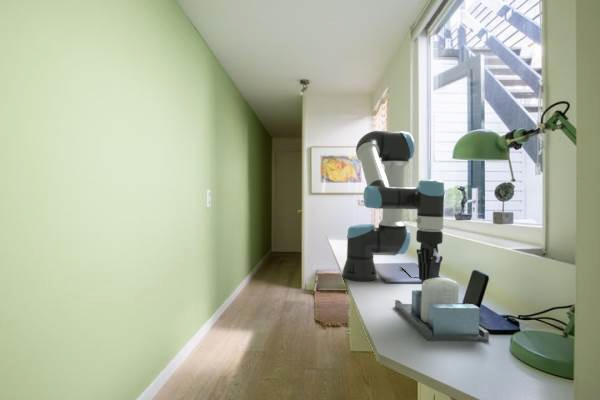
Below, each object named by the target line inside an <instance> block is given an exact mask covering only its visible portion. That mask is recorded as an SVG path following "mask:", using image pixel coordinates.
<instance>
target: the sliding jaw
mask: <svg viewBox="0 0 600 400" xmlns="http://www.w3.org/2000/svg"><path fill="white" fill-rule="evenodd" d="M421 295H422V289H419V290H416V289H415V290H413V289H412V290H411V304H412V308H411V312H412V313H413V314H414V315H415V316H416V317H421Z"/></svg>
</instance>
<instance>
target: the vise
mask: <svg viewBox="0 0 600 400" xmlns="http://www.w3.org/2000/svg"><path fill="white" fill-rule="evenodd" d="M394 301H395V302H394V307H395V309H397V311H398V312H399V313H400V314H401V315H402V316H403V317H404V318H405V319H406V320H407V321H408V322H409V323H410V324H411V325H412V326H413V327H414V329H416V331H417V332H419V333H420V335H422V337H424V339H426V341H447V342H448V341H450V342H451V341H455V342H456V341H459V342H461V341H469V342H471V341H473V342H474V341H475V342H477V341H478V342H479V341H481V342H482V341H483V342H484V341H485V342H487V341H488V342H489V340H490V339H489V338H490V337H489V335H490V333H489V331H488V330H487V329H485V328H484V327H482V326H481V325H480V311H481V310H480V309H481V308H480V307H479V306H477V305H475V304H473V303H464V304H463V303H458V304H429V320H428V323H426V322H424V321H422V320H421V317H416V316H415V315H414V314H413V313H412V312H411V308H412V303H403V302H401V301H400V300H399V299H398V300H397V299H396V300H394Z"/></svg>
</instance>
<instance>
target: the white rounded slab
mask: <svg viewBox="0 0 600 400" xmlns="http://www.w3.org/2000/svg"><path fill="white" fill-rule="evenodd" d="M421 290H422V295H421V320H422V321H424V322H426V323H428V320H429V304H459V292H460V291H459V290H460V288H459V284H458V282H457V281H455V280H453V279H451V278H447V277H441V276H440V277H438V278H431V279H427V280H425V281H423V283H422V282H421Z"/></svg>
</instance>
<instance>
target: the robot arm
mask: <svg viewBox="0 0 600 400" xmlns="http://www.w3.org/2000/svg"><path fill="white" fill-rule="evenodd" d="M414 141H415V140H414V138H413V136H412V134H411V133H409V132H408V131H401V130H400V131H398V130H397V131H396V130H393V131H391V130H389V131H388V130H387V131H386V130H384V131H382V130H374V131H370V132H367V133H366V134H364V135H363V136H362V137H361V138H360V139H359V141H358V142H357V144H356V148H355V152H356V157H357V159H358V160H359V161H360V163H361V168H362V171H363V175H364V178H365V181H366V186H365V188H364V190H363V204H364V206H365V207H366V208H367V209H369V208H370V209H375V210H377V209H378V210H379V209H382V219H381V221H379V223H378V227H376V226H375V225H374V224H373V223H362V224H356V225H351V226H349V227H348V229H347V236H346V237H347V239H346V240H347V241H346V242H347V244H346V245H347V246H346V247H347V249H346V260H345V264H344V266H343V269H342V277H343V278H345V279H347V280H352V281H357V282H358V281H359V282H369V281H370V282H371V281H375V280H377V279H378V271H377V268H376V265H375V262H374V255H394V256H396V255H404V254H405V253H406V252H407V251H408V249H409V247H410V243H411V231H410V229H409V228H407V227H406V226H407V224H406V223H405V222H404V220H403V214H404V210H417V211H416V214H417V215H416V219H415V222H416V228H417V230H416V236H415V237H416V239H415V240H416V242H417V243H420V248H417V249H416V254H417V264H418V265H417V266H418V268H419V278H418V279H419V281H420V282H421V284H422V283H423V281H425V280H427V279H431V278H438V277H439V276H440V271H441V265H442V264H441V263H442V262H443V256H442V255H439V247H438V245H441V244H442V243H443V238H444V237H443V231H442V230H443V229H444V204H445V203H444V202H445V183H444V182H443V181H442V180H439V179H436V180H435V179H423V180H422V179H420V180H419V181H418V184H417V187H414V186H412V187H411V186H409V187H408V186H405V170H406V169H405V168H406V166H407V165H408V164H409V160H410V159H412V158H413V157H414V154H415V153H414V152H415V142H414Z"/></svg>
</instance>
